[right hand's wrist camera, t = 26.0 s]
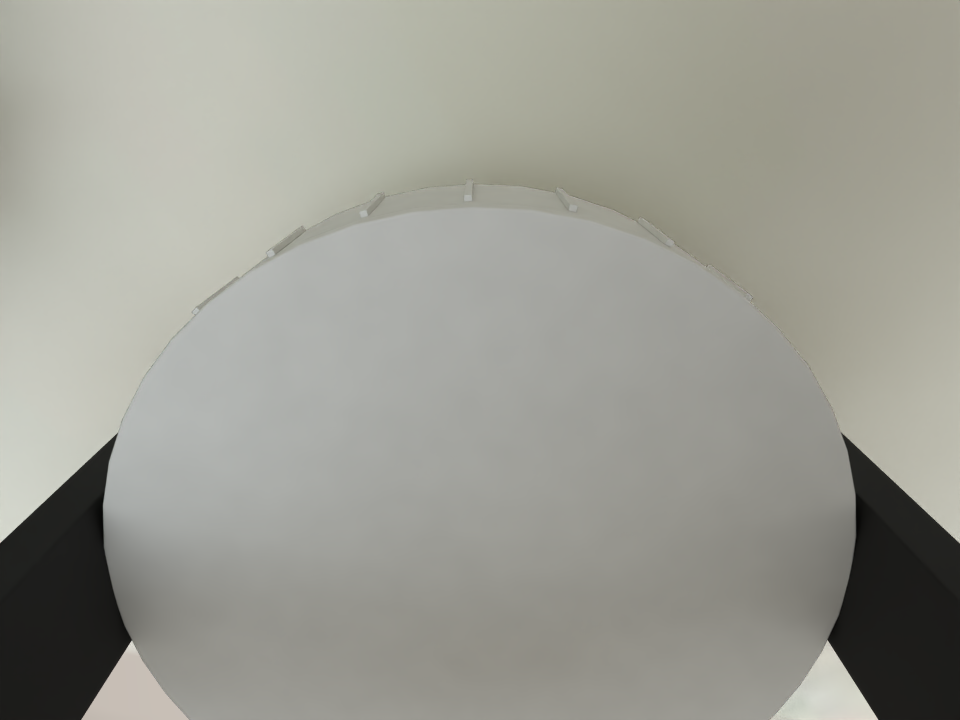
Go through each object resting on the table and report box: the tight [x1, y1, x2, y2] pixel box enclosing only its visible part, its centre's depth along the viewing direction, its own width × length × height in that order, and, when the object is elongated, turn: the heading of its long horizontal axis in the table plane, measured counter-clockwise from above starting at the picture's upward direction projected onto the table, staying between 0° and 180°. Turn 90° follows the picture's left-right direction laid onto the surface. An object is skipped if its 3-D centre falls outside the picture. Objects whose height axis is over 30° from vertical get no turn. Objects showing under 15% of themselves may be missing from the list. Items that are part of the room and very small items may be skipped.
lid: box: [103, 179, 856, 720], centre depth 12 cm, size 12×12×2 cm
